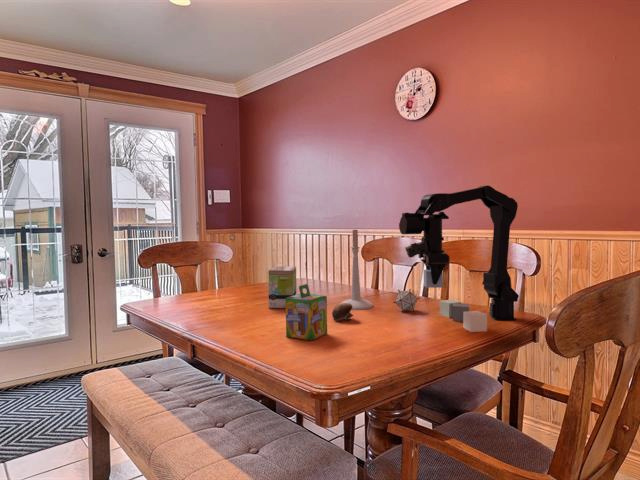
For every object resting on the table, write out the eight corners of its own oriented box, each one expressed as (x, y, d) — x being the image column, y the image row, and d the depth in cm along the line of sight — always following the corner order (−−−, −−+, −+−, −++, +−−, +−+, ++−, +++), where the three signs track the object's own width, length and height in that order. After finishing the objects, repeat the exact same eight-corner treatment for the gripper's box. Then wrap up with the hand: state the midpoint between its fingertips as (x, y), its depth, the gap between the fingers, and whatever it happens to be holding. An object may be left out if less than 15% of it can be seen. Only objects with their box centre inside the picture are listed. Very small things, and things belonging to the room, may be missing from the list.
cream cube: (479, 327, 130) (479, 311, 129) (487, 331, 125) (487, 314, 124) (463, 327, 129) (463, 311, 129) (470, 332, 124) (470, 315, 124)
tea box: (294, 308, 161) (293, 269, 161) (268, 308, 161) (267, 270, 161) (297, 300, 176) (296, 265, 176) (273, 301, 176) (272, 265, 176)
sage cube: (451, 313, 148) (451, 299, 148) (461, 316, 143) (461, 302, 143) (439, 315, 146) (439, 300, 146) (449, 318, 142) (449, 303, 141)
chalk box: (311, 341, 117) (310, 288, 116) (285, 337, 122) (283, 286, 121) (328, 333, 125) (327, 284, 124) (303, 329, 129) (302, 282, 129)
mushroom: (361, 309, 143) (350, 294, 142) (354, 322, 136) (342, 308, 135) (344, 317, 147) (333, 303, 146) (336, 331, 141) (324, 317, 140)
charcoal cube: (469, 318, 140) (469, 303, 140) (469, 322, 136) (469, 306, 135) (453, 317, 142) (453, 303, 142) (452, 321, 137) (452, 306, 137)
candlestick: (378, 304, 165) (377, 228, 163) (363, 311, 154) (362, 229, 153) (349, 301, 172) (348, 228, 170) (333, 307, 161) (332, 229, 160)
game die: (410, 322, 152) (419, 303, 145) (388, 313, 153) (396, 294, 147) (415, 306, 158) (423, 287, 152) (393, 297, 160) (401, 279, 154)
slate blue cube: (439, 285, 136) (439, 269, 136) (442, 287, 131) (442, 271, 131) (423, 285, 137) (423, 269, 136) (426, 287, 132) (426, 271, 131)
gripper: (403, 233, 143) (403, 279, 144) (411, 235, 124) (411, 288, 125) (436, 232, 142) (436, 278, 143) (449, 234, 124) (449, 287, 124)
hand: (433, 283), depth 134 cm, fingers closed on slate blue cube, 5 cm apart
